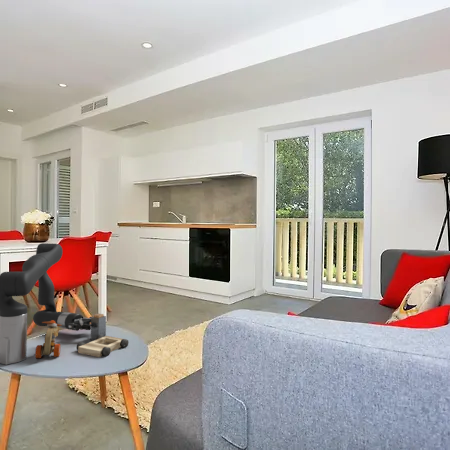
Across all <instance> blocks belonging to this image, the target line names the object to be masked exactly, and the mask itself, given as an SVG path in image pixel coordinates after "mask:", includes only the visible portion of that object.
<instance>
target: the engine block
mask: <svg viewBox="0 0 450 450" xmlns="http://www.w3.org/2000/svg"><path fill="white" fill-rule="evenodd" d="M90 317H91V323H90V324H91V330H90V341H91V340H92V341H94V340H96V338H97V336H98V335H103V336H104V337H105V336H107V333H106V332H107V316H105V314H104V313H96V314H93V316H90Z"/></svg>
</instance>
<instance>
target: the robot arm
mask: <svg viewBox="0 0 450 450" xmlns="http://www.w3.org/2000/svg"><path fill="white" fill-rule="evenodd" d="M62 257H63V247H62V246H61V244H58V243H48V242H47V243H45V242H44V243H43V242H42V243H41V242H40V243H39V244H38V245H37V247H36V251H35V254H33V255H31V256H30V257H28V258H27V259H26V260H25V261H24V262H23V264H22V267H21V270H22V271H3V272H1V273H0V364H2V365H9V364H16V363H19V362H22V361H24V360H25V359H26V358H27V354H28V353H27V351H28V350H27V347H28V345H27V344H28V338H27V337H28V306H27V305H26V304H24V303H23V302H22V303H21V302H19V301H17V300H16V299H14V298H13V297H23V296H27V295H28V294H30V293H31V291H32V290H33V289H34V286H35V285H36V284H37V282H38V292H37V294H38V297H37V302H38V303H37V304H38V305H39V306H44V309H43V310H38V311H36V312H35V313H34V314H33V317H32V320H33V323H34V324H35V325H36V326H39V327H47V323H42V322H50V321H52V320H54V321H55V322H56V324H60V325H62V326H59V328H61V329H65V330H71V331H75V332H76V331H77V332H78V331H82V330H85V331H91V317H92V316H89V317H84V316H83V315H82V314H81V313H74V312H64V311H57V308H56V307H57V306H56V303H55V285H54V282H53V280H52V279H51V277H50V276H49V274H48V270H49V269H51V267H53V266H54V265H55V264H57V263H58V262H60V260H61V259H62Z"/></svg>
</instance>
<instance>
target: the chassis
mask: <svg viewBox="0 0 450 450" xmlns="http://www.w3.org/2000/svg"><path fill="white" fill-rule="evenodd" d="M129 343H130V342H129V340H128V339H126V338H122V337H115V336H109V335H106V336H105V337H104V336H103V335H98V336H97V338H96V340H92V341H89V342H87V343H85V342H83V341H82V342H78V343H77V344H76V350H77V352H78V353H79V354H82V355H86V356H87V355H88V356H92V357H97V358H101V357H104V356H105V357H108V356H110V354H111V352H114V351H115V350H119V349H121V348H127V347H128V346H129Z"/></svg>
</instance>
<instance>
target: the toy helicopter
mask: <svg viewBox="0 0 450 450" xmlns="http://www.w3.org/2000/svg"><path fill="white" fill-rule="evenodd" d="M42 323H47V326H46V327H47V330H46V333H45V336H44V342H43V343H42V344H38V345H36V347H35V354H34V355H35V358H36V359H41V358H42V357H43V356H50V355H51V354H52V353H53V358H57V357H60V354H61V350H62V349H61V347H62V346H61V343H56V338H57V337H58V335H59V332H60V327H59V326H62V325H60V324H56V322H55V321H54V320H52V321H50V322H42Z"/></svg>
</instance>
